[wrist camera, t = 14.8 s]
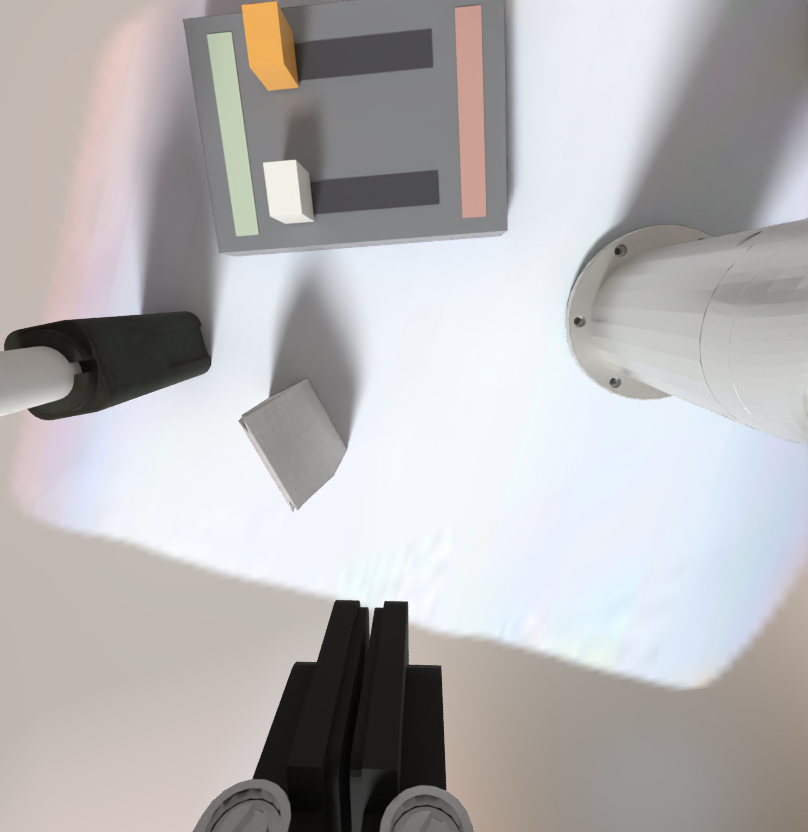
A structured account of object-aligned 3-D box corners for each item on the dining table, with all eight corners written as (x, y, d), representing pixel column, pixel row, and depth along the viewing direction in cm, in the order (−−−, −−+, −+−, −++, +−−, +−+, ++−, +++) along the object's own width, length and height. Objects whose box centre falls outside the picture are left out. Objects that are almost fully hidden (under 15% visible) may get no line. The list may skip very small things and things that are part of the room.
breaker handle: (292, 33, 30) (276, 1, 26) (298, 87, 30) (283, 63, 27) (261, 36, 30) (241, 5, 26) (268, 90, 30) (249, 67, 27)
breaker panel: (496, 12, 32) (514, -60, 25) (500, 235, 35) (517, 222, 29) (204, 43, 33) (150, -18, 26) (236, 256, 36) (195, 248, 30)
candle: (136, 321, 38) (-379, 368, 14) (196, 308, 37) (-226, 335, 13) (156, 383, 39) (-286, 528, 15) (214, 372, 39) (-142, 502, 14)
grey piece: (307, 378, 38) (267, 406, 29) (347, 449, 40) (321, 499, 30) (268, 397, 39) (216, 431, 29) (309, 467, 40) (271, 522, 31)
